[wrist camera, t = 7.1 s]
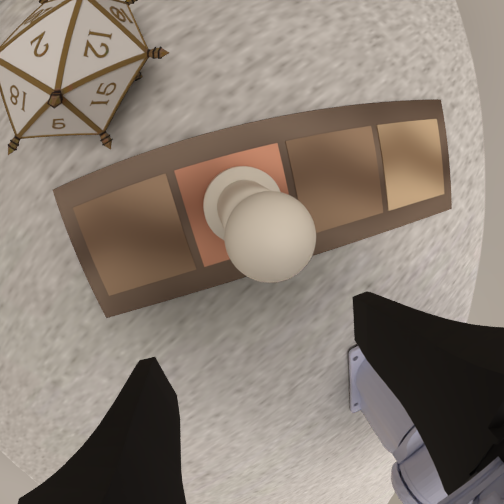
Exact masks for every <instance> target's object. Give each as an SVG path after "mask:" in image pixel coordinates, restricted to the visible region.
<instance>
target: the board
mask: <svg viewBox="0 0 504 504" xmlns="http://www.w3.org/2000/svg"><path fill="white" fill-rule="evenodd" d="M235 166H249V167H253V168H256V169H259V170H261V171H263V172H265V173H266V174H268V175H269V176H270V177H271V178H272V179H273V180H274V181H275V182H276V184H277V185H278V187H279V189H280V192H282V193H285V194H288V195H290V196H292V197H294V198H295V199H297V200H298V201H299V202H301V203H302V204H303V205H304V206H305V208H306V209H307V210H308V212H309V213H310V215H311V217H312V219H313V222H314V225H315V230H316V244H315V249H314V252H313V255H317V254H320V253H323V252H326V251H329V250H332V249H335V248H338V247H341V246H344V245H347V244H350V243H353V242H356V241H359V240H362V239H365V238H368V237H371V236H374V235H377V234H380V233H383V232H386V231H389V230H392V229H395V228H398V227H401V226H404V225H406V224H409V223H412V222H415V221H418V220H421V219H424V218H427V217H430V216H432V215H435V214H438V213H441V212H444V211H447V210H449V209H451V180H450V166H449V154H448V145H447V137H446V129H445V122H444V116H443V110H442V104H441V100H411V101H393V102H380V103H369V104H359V105H350V106H342V107H334V108H327V109H320V110H314V111H308V112H302V113H296V114H290V115H285V116H280V117H275V118H270V119H265V120H260V121H256V122H251V123H247V124H242V125H238V126H234V127H230V128H226V129H222V130H218V131H214V132H210V133H207V134H203V135H200V136H196V137H193V138H189V139H186V140H182V141H179V142H176V143H173V144H169V145H166V146H163V147H160V148H157V149H154V150H151V151H148V152H145V153H142V154H139V155H137V156H134V157H131V158H128V159H126V160H123V161H120V162H118V163H115V164H112V165H110V166H107V167H105V168H102V169H100V170H97V171H95V172H92V173H90V174H87V175H85V176H83V177H80V178H78V179H76V180H74V181H71V182H69V183H67V184H65V185H62V186H60V187H58V188H56V189H54V190H53V192H54V196H55V199H56V202H57V205H58V207H59V210H60V213H61V216H62V219H63V222H64V224H65V227H66V230H67V232H68V235H69V237H70V240H71V242H72V245H73V247H74V250H75V252H76V255H77V257H78V259H79V262H80V264H81V266H82V268H83V271H84V273H85V275H86V277H87V280H88V282H89V284H90V286H91V288H92V290H93V292H94V294H95V296H96V298H97V300H98V302H99V304H100V306H101V308H102V310H103V312H104V314H105V316H106V318H108V317H111V316H115V315H119V314H122V313H126V312H129V311H133V310H136V309H140V308H143V307H147V306H150V305H154V304H157V303H160V302H164V301H167V300H171V299H174V298H177V297H181V296H184V295H188V294H191V293H194V292H198V291H201V290H204V289H208V288H211V287H214V286H218V285H221V284H224V283H227V282H231V281H234V280H237V279H240V278H244V277H247V276H245V275H244V274H243V273H241V272H240V271H239V270H238V269H237V268H236V267H235V266H234V264H233V263H232V261H231V260H230V258H229V256H228V254H227V251H226V247H225V241H224V240H223V239H221V238H219V237H218V236H217V235H216V234H215V233H214V232H213V231H212V230H211V228H210V227H209V225H208V223H207V221H206V218H205V214H204V208H203V200H204V195H205V192H206V189H207V187H208V185H209V184H210V182H211V181H212V180H213V179H214V177H216V176H217V175H218V174H219V173H221V172H222V171H224V170H226V169H228V168H231V167H235ZM313 255H312V256H313Z"/></svg>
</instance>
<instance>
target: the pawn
mask: <svg viewBox="0 0 504 504" xmlns="http://www.w3.org/2000/svg"><path fill="white" fill-rule="evenodd" d="M203 208H204V214H205V218H206V221H207V223H208V225H209V227H210V228H211V230H212V231H213V232H214V233H215V234H216V235H217V236H218V237H219V238H221V239H223V240H224V241H225V247H226V251H227V254H228V256H229V258H230V260H231V261H232V263H233V264H234V266H235V267H236V268H237V269H238V270H239V271H240V272H241V273H243V274H244V275H245V276H247V277H249V278H251V279H254V280H256V281H260V282H266V283H275V282H281V281H285V280H287V279H290V278H292V277H293V276H295V275H296V274H298V273H299V272H300V271H301V270H303V268H304V267H305V266H306V265H307V264H308V262H309V261H310V259H311V257H312V255H313V252H314V249H315V244H316V230H315V225H314V222H313V219H312V217H311V215H310V213H309V212H308V210H307V209H306V208H305V206H304V205H303V204H302V203H301V202H299V201H298V200H297V199H295V198H294V197H292V196H290V195H288V194H285V193H282V192H280V189H279V187H278V185H277V184H276V182H275V181H274V180H273V179H272V178H271V177H270V176H269V175H268V174H266V173H265V172H263V171H261V170H259V169H256V168H253V167H249V166H235V167H231V168H228V169H226V170H224V171H222V172H221V173H219V174H218V175H217V176H216V177H214V179H213V180H212V181H211V182H210V184H209V185H208V187H207V189H206V192H205V195H204V200H203Z"/></svg>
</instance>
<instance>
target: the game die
mask: <svg viewBox="0 0 504 504" xmlns="http://www.w3.org/2000/svg"><path fill="white" fill-rule="evenodd" d="M135 1H138V0H126V1H125V2H124V1H120V0H50V1H48V0H39V3H41V4H42V5H41V6H40V7H39V8H38V9H36V10H35V11H34V12H33V13H32V14H31V15H30V16H29V17H28V18H27V19H26V20H25V21H24V22H23V23H22V24H21V25H20V26H19V27H18V28H17V29H16V30H15V31H14V32H13V33H12V34H11V35H10V36H9V37H8V38H7V39H6V41H5V42H4V43H3V44H2V45H1V46H0V92H1V96H2V99H3V102H4V105H5V108H6V111H7V114H8V117H9V120H10V123H11V125H12V128H13V131H14V133H15V137H14V138H13V139H12V140H10V141H11V142H10V144H8V155H9V154H10V153H12V152H13V151H15V150H17V149H16V148H17V146H19V141H20V139H24V138H35V137H49V136H68V135H100V137H101V140H100V141H102V143H103V144H102V145H104V146H106V147H108V148H109V149H111V142H112V140H113V139H111V138H110V135H108V134H107V133H106V129H107V127H108V125H109V124H110V122H111V120H112V118H113V116H114V114H115V112H116V110H117V109H118V107H119V105H120V103H121V101H122V100H123V98H124V96H125V94H126V93H127V91H128V89H129V88H130V86H131V84H132V83H133V81H134V79H135V81H136V80H138V79H140V78H142V75H141V72H139V71H140V70H141V68H142V67H143V65H144V64H145V62H146V61H147V59H148V58H149V57H152V58H153V59H155V58H158V59H161V58H162V57H163V56H165V55H167V54H169V52H167V51H166V50H164V49H162V47H160V48H156V47H155V48H154V49H151V50H149V49H148V47H147V45H146V43H145V41H144V38H143V36H142V34H141V32H140V30H139V27H138V25H137V23H136V21H135V19H134V16H133V14H132V12H131V10H130V8H129V5H130V4H134V2H135Z"/></svg>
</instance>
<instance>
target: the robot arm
mask: <svg viewBox="0 0 504 504" xmlns="http://www.w3.org/2000/svg"><path fill="white" fill-rule="evenodd" d="M353 312H354V335H355V341H356V343H357V345H358V346H357V347H355V348H353V349H351V350H350V351H349V375H350V410H351V412H352V413H355V412H357V411H360V410H361V411H362V413H363V414H364V416H365V417H366V419H367V421H368V422H369V424H370V425H371V427H372V428H373V430H374V432H375V433H376V435H377V436H378V438H379V440H380V441H381V443H382V444H383V446H384V447H385V448H386V449H387V450H388V451H389V452H391V453H392V454H393V456H394V457H395V459H396V461H397V462H395V463H394V464H393V466H392V474H391V481H392V485H393V488H394V490H395V492H396V494H397V496H398V497H399V499H400V500H401V501H402V503H403V504H504V328H503V327H489V326H480V325H473V324H467V323H463V322H458V321H453V320H449V319H445V318H441V317H438V316H435V315H431V314H428V313H425V312H422V311H419V310H416V309H413V308H411V307H408V306H405V305H403V304H400V303H397V302H395V301H392V300H390V299H387V298H384V297H382V296H379V295H376V294H374V293H371V292H364V293H362V294H359V295H356V296H354V297H353ZM18 504H186V500H185V494H184V489H183V483H182V474H181V443H180V414H179V407H178V400H177V394H176V393H175V391H174V389H173V388H172V386H171V384H170V383H169V381H168V379H167V377H166V376H165V374H164V372H163V370H162V369H161V367H160V365H159V363H158V361H157V359H156V358H155V357H152V358H148V359H143V360H139V362H138V363H137V365H136V367H135V368H134V370H133V372H132V373H131V375H130V377H129V378H128V380H127V382H126V383H125V385H124V387H123V388H122V390H121V392H120V393H119V395H118V397H117V398H116V400H115V402H114V403H113V405H112V406H111V408H110V409H109V411H108V412H107V414H106V415H105V417H104V418H103V420H102V421H101V423H100V424H99V425H98V427H97V428H96V430H95V431H94V432H93V433H92V435H91V436H90V437H89V438H88V440H87V441H86V442H85V443H84V445H83V446H82V447H81V448H80V449H79V450H78V451H77V452H76V453H75V454H74V455H73V456H72V457H71V458H70V459H69V460H68V461H67V462H66V464H65V465H63V466H62V467H61V468H60V469H59V470H58V471H57V472H56V473H55V474H53V475H52V476H51V477H50V478H48V479H47V480H46V481H45V482H43V483H42V484H41V485H39V486H38V487H37V488H35V489H33V490H32V491H30V492H29V493H27V494H26V495H24V496H23V497H21V498H20V499H19V501H18Z"/></svg>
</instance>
